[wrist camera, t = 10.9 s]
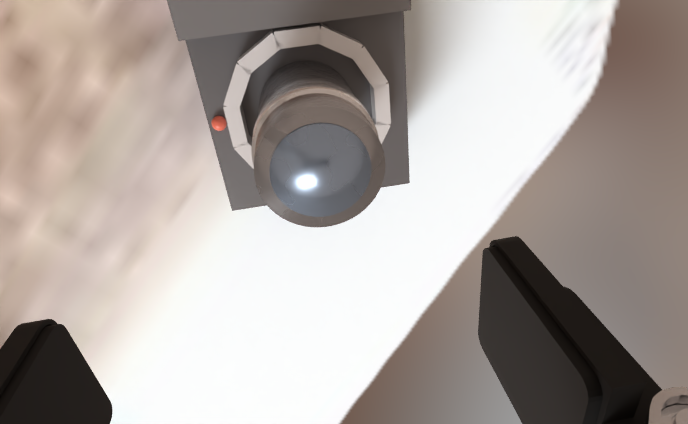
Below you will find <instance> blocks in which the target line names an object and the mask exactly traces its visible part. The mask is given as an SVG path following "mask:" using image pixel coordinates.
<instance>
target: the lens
mask: <svg viewBox="0 0 688 424" xmlns="http://www.w3.org/2000/svg"><path fill="white" fill-rule="evenodd" d="M251 150H252V161H253V166H254V178H255V183H256V186H257V189H258V192H259V194H260V196H261V198H262V199H263V200H264V202H265V203H266V204H267V206H268V207H269V208H270V209H271V210H272V211H273V212H275V213H276V214H277V215H279V216H280V217H282V218H283V219H285V220H287V221H289V222H292V223H295V224H298V225H302V226H307V227H326V226H332V225H337V224H340V223H342V222H345V221H347V220H349V219H351V218H353V217H355V216H356V215H358V214H359V213H361V212H362V211H363V210H364V209H365V208H366V207H367V206H368V205H369V204H370V203H371V202H372V201H373V199H374V198H375V197H376V195H377V193H378V192H379V190H380V187H381V185H382V182H383V179H384V175H385V155H384V150H383V147H382V144H381V142H380V140H379V136H378V132H377V129H376V127H375V124H374V122H373V120H372V119H371V117H370V115H369V113H368V112H367V110H366V109H365V107H364V106H363V104H362V103H361V102H360V101H359V100H358V99H357V98H356V97H355V96H354V94H353V93H352V91H351V89H350V87H349V86H348V84H347V82H346V81H345V79H344V78H343V77H342V76H341V75H340V74H339V73H338V72H337V71H336V70H334V69H333V68H331V67H330V66H328V65H326V64H323V63H320V62H317V61H310V60H303V61H296V62H292V63H289V64H286V65H285V66H283V67H281V68H279V69H278V70H277V71H275V72H274V73H273V74H272V75H271V76H270V77H269V79H268V80H267V81H266V83H265V85H264V86H263V89H262V91H261V95H260V98H259V108H258V118H257V120H256V122H255V126H254V130H253V138H252V148H251Z"/></svg>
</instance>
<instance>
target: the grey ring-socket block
mask: <svg viewBox="0 0 688 424" xmlns="http://www.w3.org/2000/svg"><path fill="white" fill-rule="evenodd" d="M167 2H168V6H169V9H170V13H171V16H172V20H173V23H174V27H175V31H176V34H177V38H178V41H181V40H186V44H187V47H188V51H189V55H190V58H191V62H192V66H193V69H194V73H195V77H196V80H197V84H198V87H199V91H200V95H201V98H202V102H203V106H204V109H205V113H206V117H207V120H208V124H209V128H210V131H211V135H212V139H213V142H214V146H215V150H216V153H217V157H218V161H219V164H220V168H221V172H222V175H223V179H224V182H225V186H226V190H227V193H228V197H229V201H230V204H231V208H232V211H233V210H239V209H246V208H252V207H259V206H265V205H267V204H266V203H265V202H264V200H263V199H262V198H261V196H260V194H259V192H258V189H257V186H256V183H255V178H254V166H253V161H252V150H251V148H252V138H253V130H254V126H255V122H256V120H257V118H258V108H259V98H260V95H261V91H262V89H263V86H264V85H265V83H266V81H267V80H268V79H269V77H270V76H271V75H272V74H273V73H274V72H275V71H277V70H278V69H279V68H281V67H283V66H285V65H286V64H289V63H292V62H296V61H303V60H310V61H317V62H320V63H323V64H326V65H328V66H330V67H331V68H333V69H334V70H336V71H337V72H338V73H339V74H340V75H341V76H342V77H343V78H344V79H345V81H346V82H347V84H348V86H349V87H350V89H351V91H352V93H353V94H354V96H355V97H356V98H357V99H358V100H359V101H360V102H361V103H362V104H363V106H364V107H365V109H366V110H367V112H368V113H369V115H370V117H371V119H372V120H373V122H374V124H375V127H376V129H377V132H378V136H379V140H380V142H381V144H382V147H383V150H384V155H385V175H384V179H383V182H382V185H381V187H387V186H394V185H400V184H406V183H409V155H408V127H407V99H406V71H405V43H404V15H403V11H407V10H411V0H167ZM381 187H380V188H381Z"/></svg>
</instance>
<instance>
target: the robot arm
mask: <svg viewBox="0 0 688 424" xmlns="http://www.w3.org/2000/svg"><path fill="white" fill-rule="evenodd" d="M480 293H481V295H480V310H479V328H478V335H479V340H480V344H481V346H482V349H483V350H484V352H485V354H486V356H487V358H488V360H489V362H490V364H491V365H492V367H493V369H494V371H495V373H496V375H497V377H498V379H499V380H500V382H501V384H502V386H503V388H504V390H505V392H506V394H507V395H508V397H509V399H510V401H511V403H512V405H513V407H514V409H515V410H516V412H517V414H518V416H519V418H520V420H521V422H522V424H688V388H687V387H686V388H685V387H680V388H679V387H673V388H669V389H666V390H662V389H661V388H660V387H659V386H658V385H657V384H656V383H655V382H654V381H653V379H652V378H651V377H650V376H649V375H648V374H647V373H646V372H645V370H644V369H643V368H642V367H641V366H640V365H639V364H638V363H637V362H636V360H635V359H634V358H633V357H632V356H631V355H630V354H629V353H628V352H627V351H626V349H625V348H624V347H623V346H622V345H621V344H620V343H619V342H618V340H617V339H616V338H615V337H614V336H613V335H612V334H611V333H610V332H609V330H608V329H607V328H606V327H605V326H604V325H603V324H602V323H601V322H600V320H599V319H598V318H597V317H596V316H595V315H594V314H593V313H592V312H591V311H590V309H589V308H588V307H587V306H586V305H585V304H584V303H583V302H582V300H581V299H580V298H579V297H578V296H577V295H576V294H575V293H574V292H573V291H572V290H570V289H569V288H566V287H563V286H562V285H561V284H560V283H559V282H558V280H557V279H556V278H555V277H554V276H553V275H552V274H551V272H550V271H549V270H548V269H547V268H546V267H545V266H544V265H543V263H542V262H541V261H540V260H539V259H538V258H537V257H536V255H534V253H533V252H532V251H531V250H530V249H529V248H528V246H527V245H526V244H525V243H524V242H523V241H522V240H521V239H520V238H519V237H516V236H515V237H510V238H504V239H498V240H493V241H491V243H490V247H489V248H485V249H484V250H483V258H482V276H481V292H480ZM111 418H112V405H111V402H110V400H109V398H108V397H107V395H106V393H105V392H104V390H103V388H102V387H101V385H100V383H99V382H98V380H97V378H96V377H95V375H94V374H93V372H92V370H91V369H90V367H89V365H88V364H87V362H86V360H85V359H84V357H83V355H82V354H81V352H80V350H79V349H78V347H77V345H76V344H75V342H74V340H73V339H72V337H71V336H70V334H69V332H68V331H67V329H66V328H65V326H64V325H62V324H57V323H56V322H55V321H54V320H52V319H46V320H40V321H35V322H29V323H23V324H20V325H18V326H17V327H16V328H15V329H14V331H13V332H12V333H11V335H10V336H9V338H8V339H7V340H6V342H5V343H4V345H3V346H2V348H1V349H0V424H110V421H111Z"/></svg>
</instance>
